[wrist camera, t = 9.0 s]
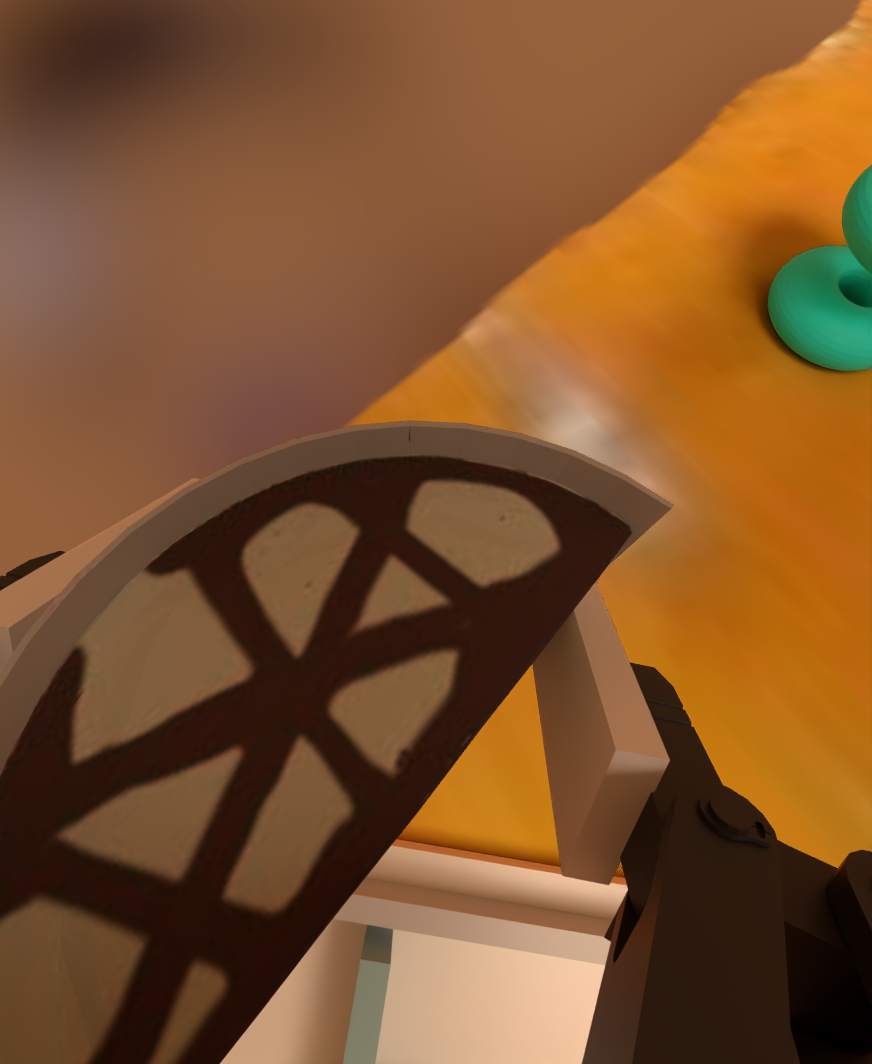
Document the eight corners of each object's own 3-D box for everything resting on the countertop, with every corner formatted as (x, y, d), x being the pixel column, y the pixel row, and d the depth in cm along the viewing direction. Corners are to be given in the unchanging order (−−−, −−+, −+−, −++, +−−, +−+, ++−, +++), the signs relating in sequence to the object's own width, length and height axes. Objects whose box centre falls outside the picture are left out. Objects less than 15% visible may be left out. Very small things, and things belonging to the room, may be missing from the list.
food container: (396, 506, 19) (399, 271, 9) (534, 621, 17) (692, 482, 8) (95, 803, 15) (-424, 902, 5) (246, 979, 13) (-83, 1504, 4)
